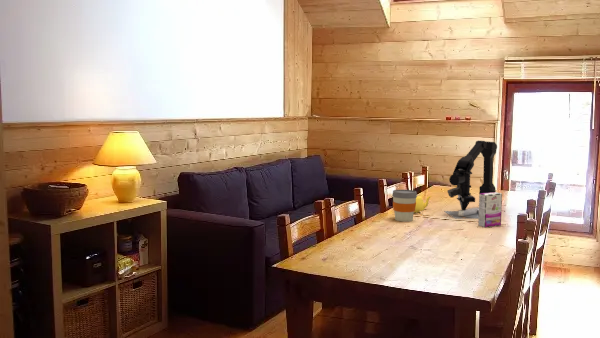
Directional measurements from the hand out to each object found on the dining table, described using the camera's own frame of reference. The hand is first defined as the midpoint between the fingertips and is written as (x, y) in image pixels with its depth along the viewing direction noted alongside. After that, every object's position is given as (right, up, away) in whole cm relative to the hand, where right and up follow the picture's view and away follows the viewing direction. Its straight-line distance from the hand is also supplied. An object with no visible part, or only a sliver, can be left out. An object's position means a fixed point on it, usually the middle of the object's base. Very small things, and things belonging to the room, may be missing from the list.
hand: (463, 211), depth 308 cm
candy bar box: (+8, -6, -19) cm, 22 cm away
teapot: (-23, -1, +16) cm, 27 cm away
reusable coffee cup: (-33, -4, -8) cm, 34 cm away
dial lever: (+4, -1, 0) cm, 4 cm away
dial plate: (+2, -3, 0) cm, 4 cm away
